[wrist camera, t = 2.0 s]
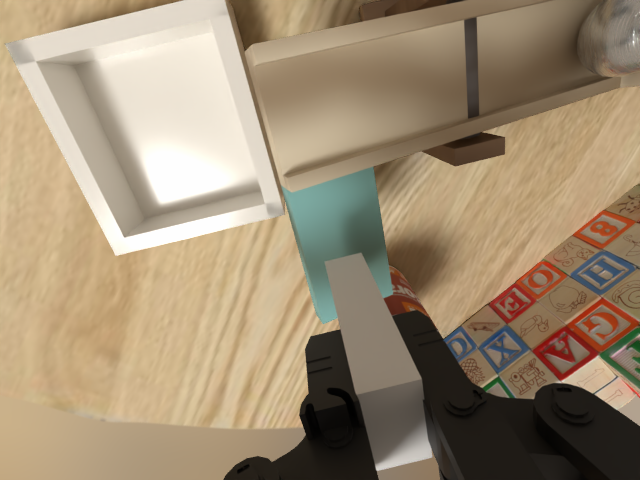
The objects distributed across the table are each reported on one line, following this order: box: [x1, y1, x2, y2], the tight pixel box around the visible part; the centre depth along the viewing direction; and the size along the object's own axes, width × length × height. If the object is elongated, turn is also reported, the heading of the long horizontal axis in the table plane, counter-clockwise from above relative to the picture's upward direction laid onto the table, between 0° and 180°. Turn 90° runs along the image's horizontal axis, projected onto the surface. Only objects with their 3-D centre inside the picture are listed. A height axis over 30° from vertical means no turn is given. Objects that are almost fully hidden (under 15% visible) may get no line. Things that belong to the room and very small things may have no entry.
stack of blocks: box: [444, 185, 640, 410], centre depth 26 cm, size 21×6×12 cm, turn 136°
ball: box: [577, 0, 640, 77], centre depth 15 cm, size 4×4×4 cm
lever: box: [244, 0, 640, 324], centre depth 16 cm, size 12×19×3 cm, turn 102°
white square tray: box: [5, 0, 285, 256], centre depth 21 cm, size 12×11×4 cm
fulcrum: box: [359, 0, 505, 166], centre depth 19 cm, size 9×5×9 cm, turn 12°
